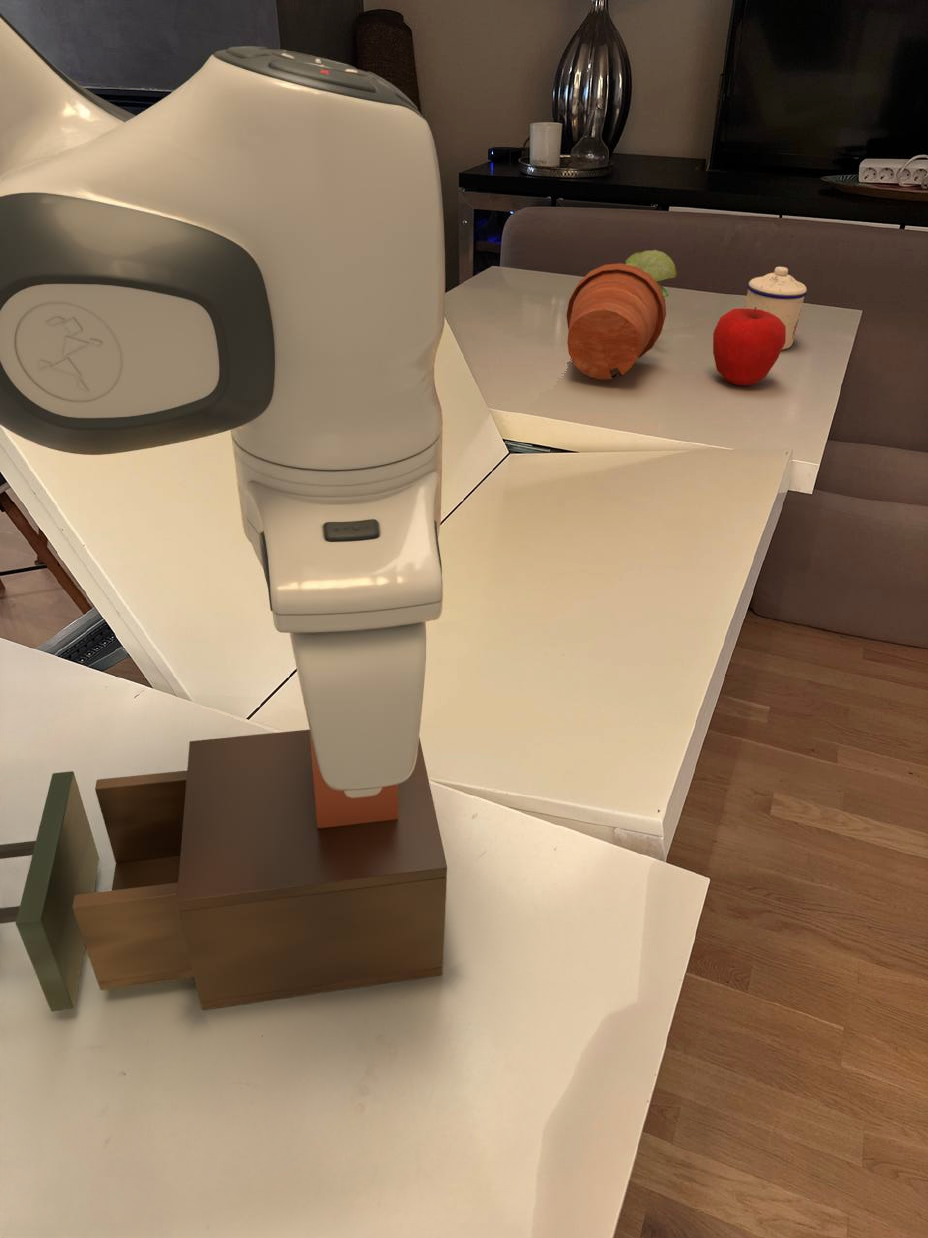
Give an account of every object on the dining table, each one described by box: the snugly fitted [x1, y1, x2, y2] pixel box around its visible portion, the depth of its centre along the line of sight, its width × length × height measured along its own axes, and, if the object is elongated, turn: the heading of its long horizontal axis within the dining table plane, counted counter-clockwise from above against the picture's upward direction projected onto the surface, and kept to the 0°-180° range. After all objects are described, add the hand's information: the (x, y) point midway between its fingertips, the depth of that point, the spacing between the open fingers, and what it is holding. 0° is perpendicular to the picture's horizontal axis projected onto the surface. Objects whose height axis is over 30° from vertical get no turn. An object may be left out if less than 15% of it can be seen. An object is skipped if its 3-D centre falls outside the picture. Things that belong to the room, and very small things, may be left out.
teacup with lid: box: [743, 266, 808, 351], centre depth 146 cm, size 12×9×12 cm
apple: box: [712, 307, 786, 387], centre depth 130 cm, size 10×10×11 cm
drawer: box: [0, 769, 194, 1013], centre depth 52 cm, size 17×10×8 cm, turn 101°
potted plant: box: [565, 249, 677, 380], centre depth 138 cm, size 16×15×35 cm
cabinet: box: [177, 729, 448, 1010], centre depth 53 cm, size 14×12×10 cm
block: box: [310, 733, 398, 828], centre depth 50 cm, size 4×4×4 cm
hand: (353, 721), depth 48 cm, fingers open, 8 cm apart
